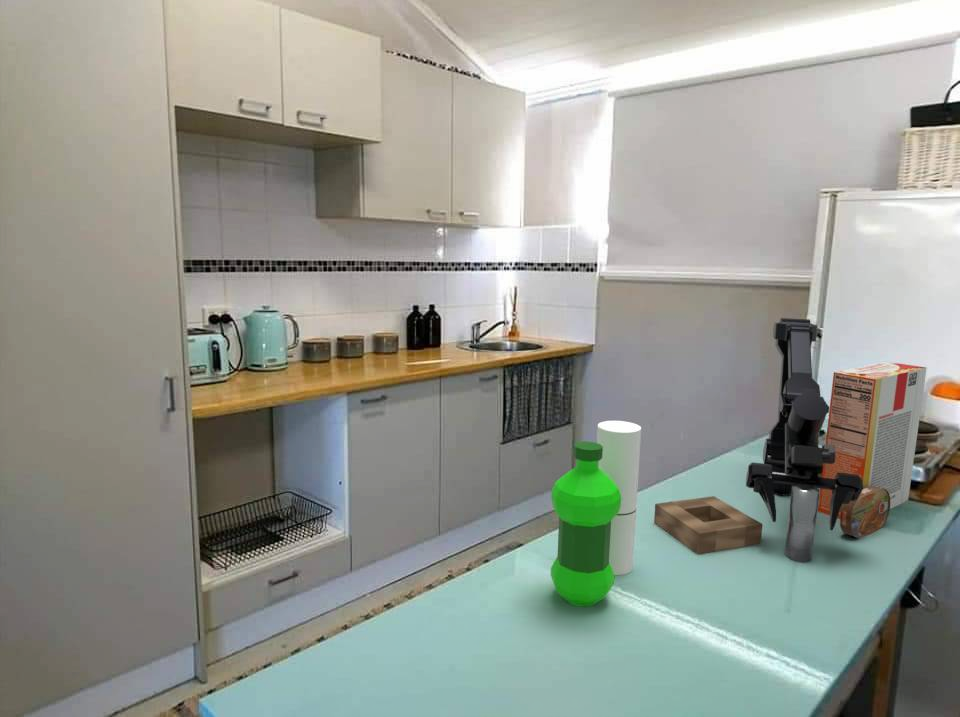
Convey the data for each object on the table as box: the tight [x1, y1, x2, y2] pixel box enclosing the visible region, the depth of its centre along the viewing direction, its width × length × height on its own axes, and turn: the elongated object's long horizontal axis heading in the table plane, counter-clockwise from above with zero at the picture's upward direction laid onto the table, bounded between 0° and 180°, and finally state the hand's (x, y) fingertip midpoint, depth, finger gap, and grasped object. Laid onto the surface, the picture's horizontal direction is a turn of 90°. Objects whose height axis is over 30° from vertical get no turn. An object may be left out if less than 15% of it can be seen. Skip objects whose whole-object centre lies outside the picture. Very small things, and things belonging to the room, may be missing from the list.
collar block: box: [653, 495, 764, 555], centre depth 127 cm, size 14×14×4 cm
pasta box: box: [817, 361, 928, 520], centre depth 139 cm, size 23×8×30 cm, turn 125°
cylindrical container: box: [596, 420, 642, 576], centre depth 112 cm, size 7×7×25 cm
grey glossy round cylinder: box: [784, 484, 820, 563], centre depth 117 cm, size 4×4×13 cm
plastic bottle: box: [550, 441, 621, 608], centre depth 101 cm, size 10×10×25 cm
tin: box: [839, 486, 891, 539], centre depth 129 cm, size 15×3×8 cm, turn 124°
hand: (802, 525), depth 116 cm, fingers open, 9 cm apart
